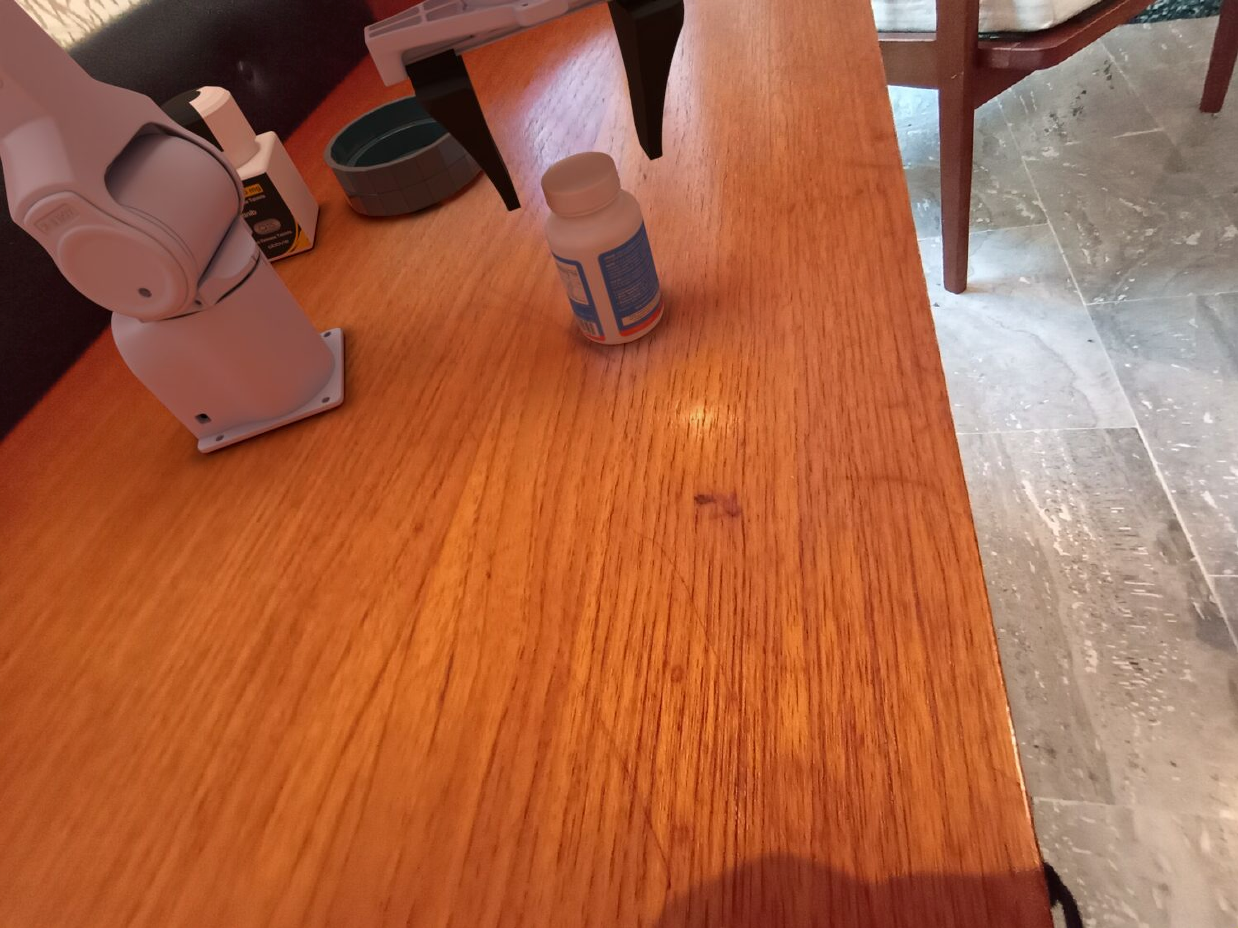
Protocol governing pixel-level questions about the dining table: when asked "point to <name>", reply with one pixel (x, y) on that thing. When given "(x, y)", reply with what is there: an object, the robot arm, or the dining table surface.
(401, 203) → the bowl
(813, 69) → the dining table surface
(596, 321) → the pill bottle
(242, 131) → the medicine bottle
